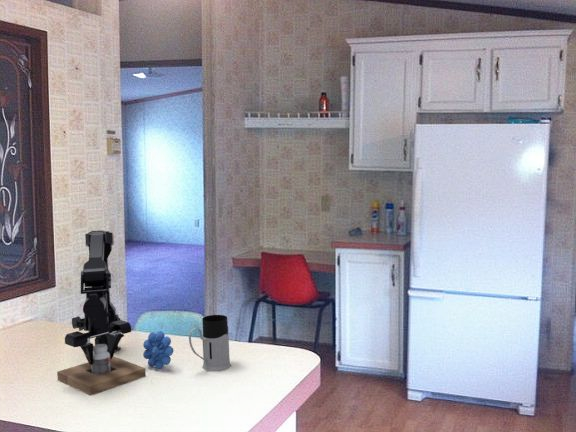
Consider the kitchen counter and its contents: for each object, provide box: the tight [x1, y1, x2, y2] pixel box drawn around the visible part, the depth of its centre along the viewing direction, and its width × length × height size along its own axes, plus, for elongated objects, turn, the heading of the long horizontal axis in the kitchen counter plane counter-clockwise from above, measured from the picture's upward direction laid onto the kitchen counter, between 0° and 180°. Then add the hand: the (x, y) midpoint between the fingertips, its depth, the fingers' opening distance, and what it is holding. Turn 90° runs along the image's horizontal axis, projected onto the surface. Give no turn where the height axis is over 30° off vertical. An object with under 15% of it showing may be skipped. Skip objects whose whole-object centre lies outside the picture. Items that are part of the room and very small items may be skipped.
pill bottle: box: [91, 344, 111, 376], centre depth 191 cm, size 5×5×10 cm
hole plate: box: [56, 355, 147, 396], centre depth 192 cm, size 18×18×2 cm
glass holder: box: [188, 314, 232, 372], centre depth 196 cm, size 9×14×15 cm, turn 137°
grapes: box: [142, 330, 174, 370], centre depth 198 cm, size 12×7×12 cm, turn 58°
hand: (100, 361), depth 191 cm, fingers open, 6 cm apart
